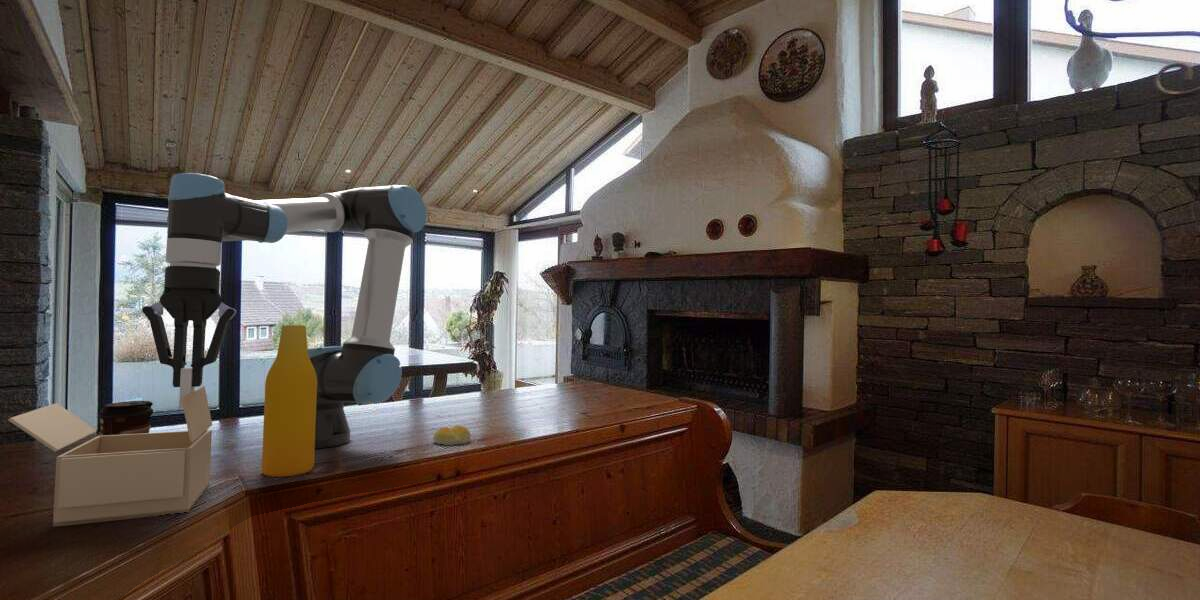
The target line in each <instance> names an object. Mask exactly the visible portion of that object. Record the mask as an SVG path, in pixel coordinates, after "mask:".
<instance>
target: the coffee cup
mask: <svg viewBox="0 0 1200 600" xmlns="http://www.w3.org/2000/svg"><path fill="white" fill-rule="evenodd" d="M153 405H154V403H153V402H152V401H150V400H129V401H118V402H112V403H108V404H105V405H104V408H103V410H101V411H99V413H97V417H98V418H99V424H100V436H105V435H123V434H142V433H150V429H151V427H152V426H151V423H150V421H151V416H152V415H153V414H154V409H153V408H152V406H153Z"/></svg>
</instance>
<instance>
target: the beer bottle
mask: <svg viewBox="0 0 1200 600" xmlns="http://www.w3.org/2000/svg"><path fill="white" fill-rule="evenodd" d="M280 329H281V330H280V336H279V340H278V341H279V342H278V349H277V354H276V357H275V358H274V361H273V363H272V364H271V366H270V367H269V370H268V372H267V375H266V379H265V383H264V384H265V385H264V400H263V401H264V403H263V406H264V407H263V429H262V430H263V432H262V452H261V472H262V474H263V475H264V476H267V477H273V478H282V477H283V478H284V477H293V476H298V475H303V474H306V473H308V472H310V471H312V470H313V469H314V466H315V460H316V457H315V456H316V454H315V453H316V452H315V449H316V448H315V425H316V399H317V376H316V372H315V369H314V367H313V365H312V363H311V361H310V359H309V355H308V348H309V347H308V337H307V335H308V334H307V326H306V325H305V324H301V325H299V324H297V325H296V324H284V325H282V326H281V328H280Z"/></svg>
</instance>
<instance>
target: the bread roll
mask: <svg viewBox="0 0 1200 600" xmlns="http://www.w3.org/2000/svg"><path fill="white" fill-rule="evenodd" d="M432 440H433V443H434V444H436V443H437V444H436V445H440V444H443V445H442V446H455V445H464V444H467V443H470V442H471V440H472V438H471V432H470V430H468V428H467V427H465V426H463V425H454V426H453V427H451V428H449V427H442V428H439V429H438V430H436V431H435V433H434V434H433V438H432Z"/></svg>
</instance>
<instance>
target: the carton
mask: <svg viewBox="0 0 1200 600" xmlns="http://www.w3.org/2000/svg"><path fill="white" fill-rule="evenodd" d="M212 433H213V429H207V430H206V431H205V432H204V433H203V434H201V435H200V436H199V437H198V438H197V439H196V440H195V441H193V442H190V438H189V433H188V430H182V431H165V432H149V433H142V434H123V435H105V436H101V435H97V436H95V437H94V438H91V439H89V440H87V441H85V442H83V443H81V444H80V445H77V446H76V447H73V448H72V449H70V450H68V451H65V452H64V453H62V454H60V455H57V456H56V463H55V481H54V485H55V486H54V500H53V515H52V516H53V517H52V518H53V519H52V528H57V527H65V526H75V525H83V524H92V523H103V522H112V521H121V520H122V521H123V520H131V519H141V518H142V519H143V518H150V517H160V516H159V515H162V516H166V515H165V514H171V515H176V514H175V513H180V514H185V513H184V512H188V513H189V512H190V511H191V510H192V509H191V507H192V506H193V505H194V504H195V505H196V503H197V502H198V501H199V499H200V498H201V497H202V496H203V494H204V493H205V492H204V491H206V490H207V489H208V488H207V487H210V482H211V481H210V480H211V479H210V478H211V460H212V459H211V455H212ZM206 488H207V489H206ZM203 492H204V493H203ZM201 495H202V496H201ZM200 496H201V497H200ZM199 497H200V498H199ZM198 498H199V499H198ZM197 500H198V501H197ZM196 501H197V502H196ZM195 502H196V503H195ZM195 505H194V506H195ZM194 506H193V507H194ZM193 507H192V508H193ZM190 509H191V510H190ZM189 510H190V511H189Z"/></svg>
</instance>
